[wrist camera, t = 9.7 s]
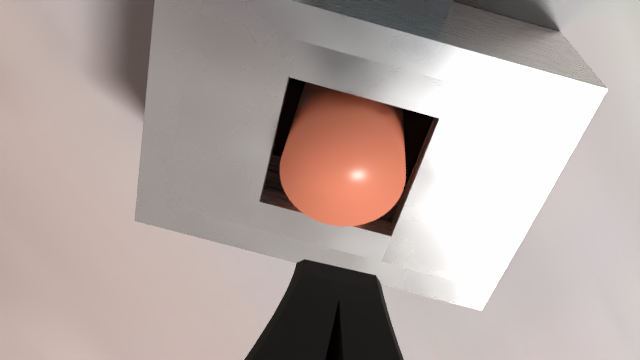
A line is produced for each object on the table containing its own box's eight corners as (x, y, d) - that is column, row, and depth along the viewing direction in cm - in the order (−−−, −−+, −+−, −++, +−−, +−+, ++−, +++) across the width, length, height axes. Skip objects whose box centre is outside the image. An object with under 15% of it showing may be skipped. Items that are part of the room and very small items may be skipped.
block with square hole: (567, 19, 16) (615, 74, 12) (465, 226, 20) (481, 310, 16) (210, -83, 15) (159, -55, 12) (179, 150, 19) (134, 220, 16)
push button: (416, 72, 16) (424, 138, 13) (384, 160, 18) (383, 239, 15) (314, 43, 16) (294, 102, 13) (291, 134, 18) (268, 208, 14)
